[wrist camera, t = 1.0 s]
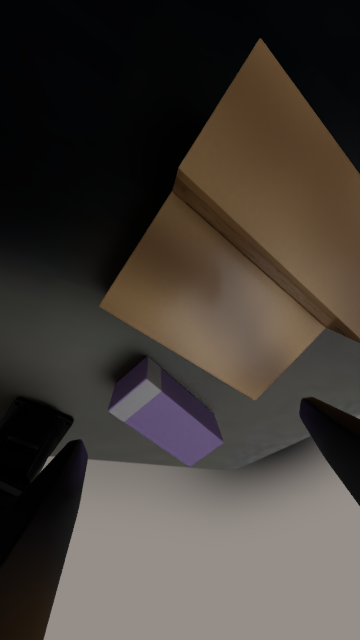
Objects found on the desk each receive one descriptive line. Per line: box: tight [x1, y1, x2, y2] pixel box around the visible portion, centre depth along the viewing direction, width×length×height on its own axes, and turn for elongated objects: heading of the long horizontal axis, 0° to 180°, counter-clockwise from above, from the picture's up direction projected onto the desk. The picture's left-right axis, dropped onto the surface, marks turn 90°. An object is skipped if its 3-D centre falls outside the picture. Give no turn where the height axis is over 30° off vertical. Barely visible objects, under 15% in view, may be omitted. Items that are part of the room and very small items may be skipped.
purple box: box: [108, 356, 224, 467], centre depth 22 cm, size 5×12×4 cm, turn 41°
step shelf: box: [99, 38, 360, 400], centre depth 16 cm, size 16×18×8 cm
